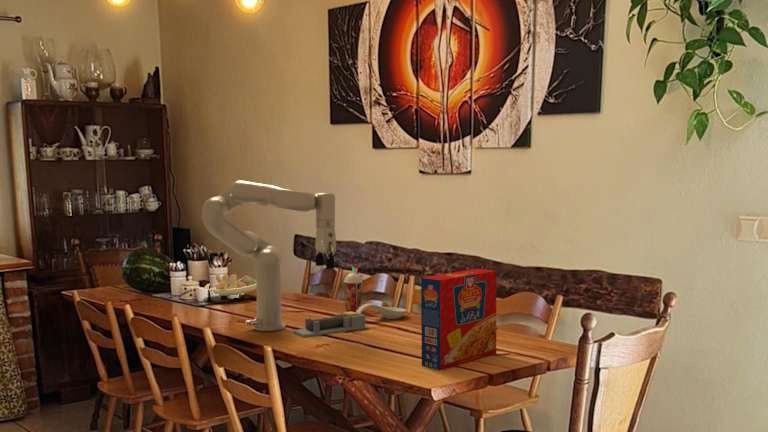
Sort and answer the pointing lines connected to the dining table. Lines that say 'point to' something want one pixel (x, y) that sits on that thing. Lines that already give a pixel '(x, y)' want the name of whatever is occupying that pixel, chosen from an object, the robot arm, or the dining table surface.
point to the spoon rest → (385, 311)
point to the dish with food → (233, 285)
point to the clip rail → (355, 323)
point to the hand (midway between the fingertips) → (324, 267)
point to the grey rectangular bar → (331, 321)
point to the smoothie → (353, 291)
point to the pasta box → (458, 317)
